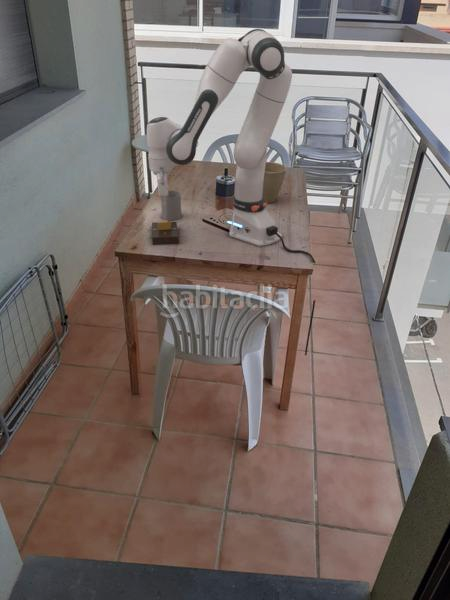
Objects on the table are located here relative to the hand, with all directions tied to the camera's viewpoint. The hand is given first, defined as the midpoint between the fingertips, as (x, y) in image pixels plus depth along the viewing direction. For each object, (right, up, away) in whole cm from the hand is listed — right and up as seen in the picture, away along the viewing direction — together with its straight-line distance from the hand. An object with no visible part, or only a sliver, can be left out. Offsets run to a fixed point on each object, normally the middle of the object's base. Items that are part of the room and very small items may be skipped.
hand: (163, 199), depth 181 cm
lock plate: (0, -13, +7) cm, 15 cm away
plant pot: (+44, +8, +41) cm, 61 cm away
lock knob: (0, -11, +5) cm, 12 cm away
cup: (0, -2, +23) cm, 23 cm away
